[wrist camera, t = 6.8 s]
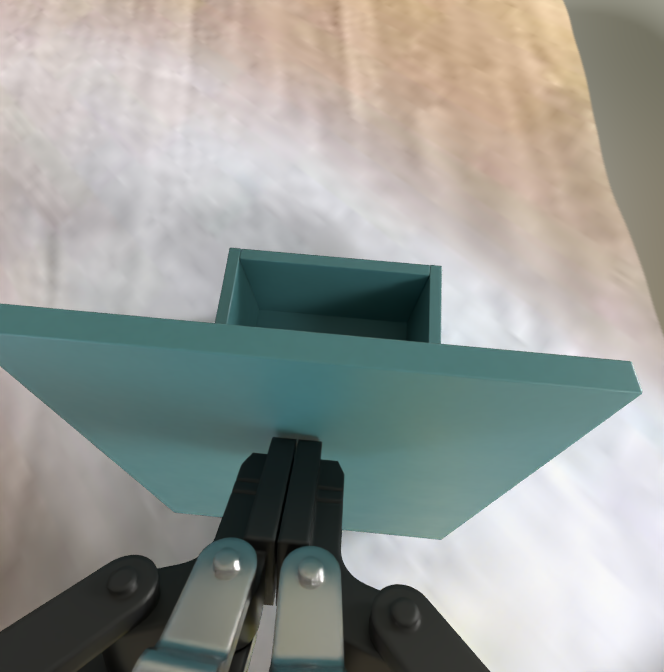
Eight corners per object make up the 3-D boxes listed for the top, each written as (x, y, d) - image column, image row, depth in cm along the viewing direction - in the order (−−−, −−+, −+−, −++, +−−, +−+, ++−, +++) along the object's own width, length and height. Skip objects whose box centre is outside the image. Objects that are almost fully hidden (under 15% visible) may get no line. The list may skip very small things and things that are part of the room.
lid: (-26, 299, 10) (-46, 328, 9) (633, 360, 9) (644, 393, 9) (178, 497, 24) (173, 512, 24) (440, 524, 24) (441, 539, 23)
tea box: (252, 304, 39) (229, 247, 30) (414, 318, 39) (441, 265, 29) (220, 500, 34) (178, 504, 24) (408, 519, 33) (439, 531, 24)
